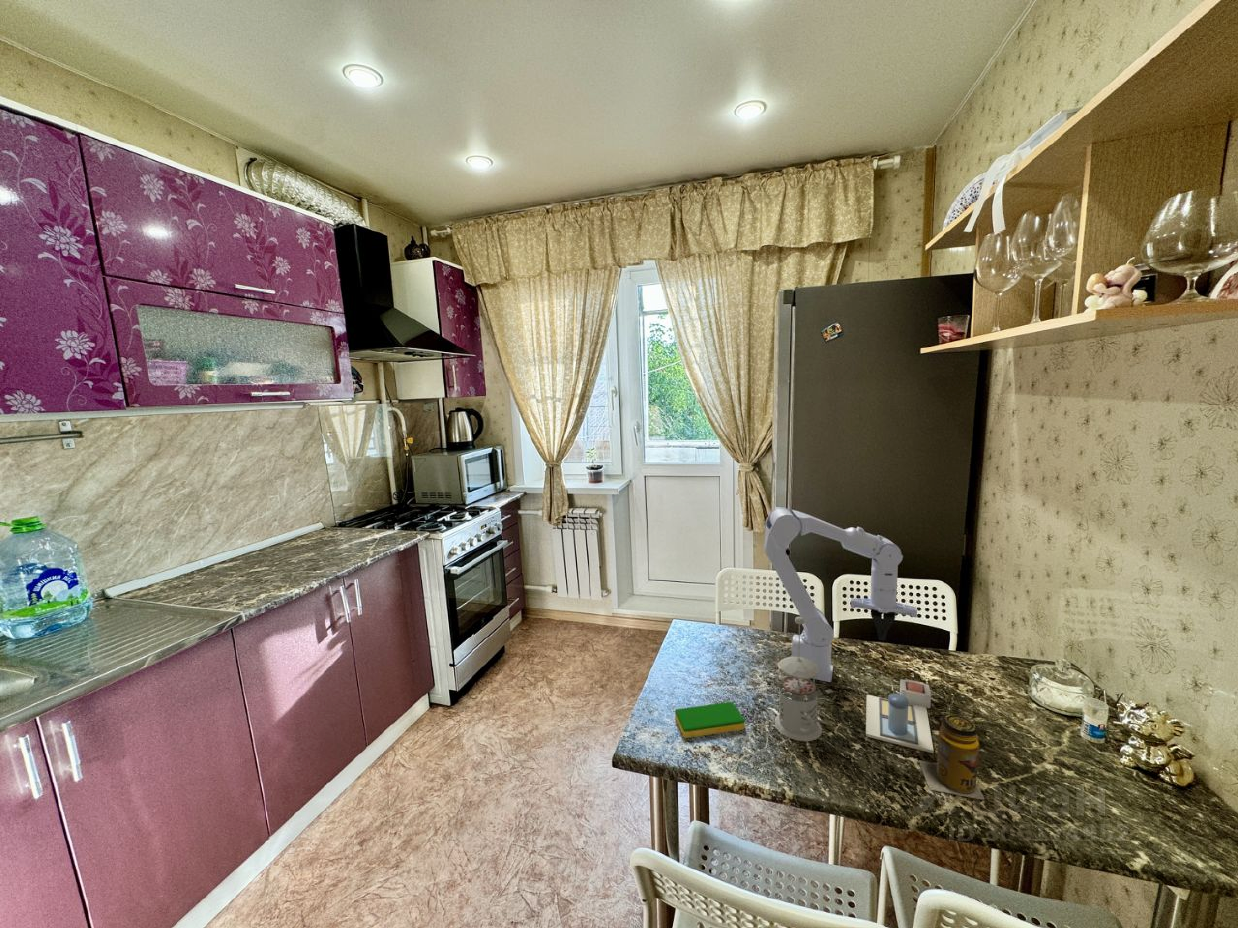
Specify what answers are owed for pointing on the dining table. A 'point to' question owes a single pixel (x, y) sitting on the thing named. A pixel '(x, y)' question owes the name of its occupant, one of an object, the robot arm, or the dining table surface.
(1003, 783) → the dining table surface
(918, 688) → the button
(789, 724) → the french press
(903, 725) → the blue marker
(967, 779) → the condiment
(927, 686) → the button housing
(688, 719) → the dish sponge
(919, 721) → the sheet
